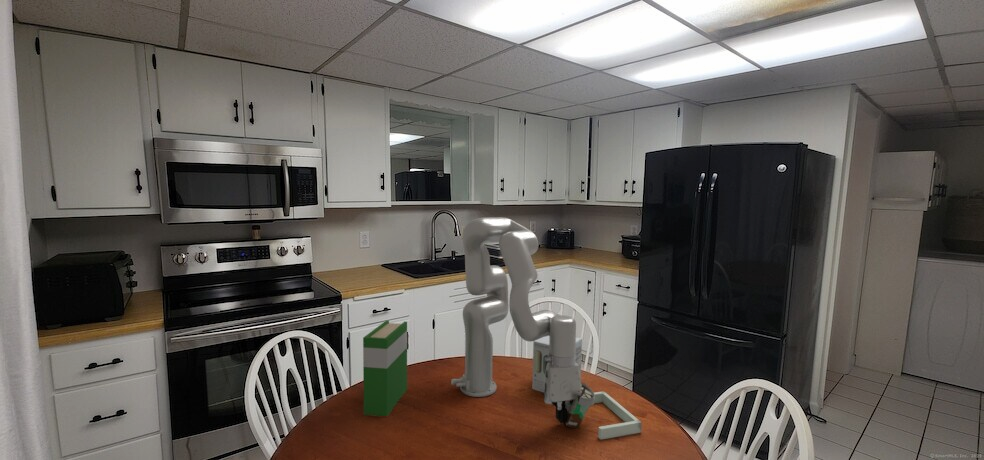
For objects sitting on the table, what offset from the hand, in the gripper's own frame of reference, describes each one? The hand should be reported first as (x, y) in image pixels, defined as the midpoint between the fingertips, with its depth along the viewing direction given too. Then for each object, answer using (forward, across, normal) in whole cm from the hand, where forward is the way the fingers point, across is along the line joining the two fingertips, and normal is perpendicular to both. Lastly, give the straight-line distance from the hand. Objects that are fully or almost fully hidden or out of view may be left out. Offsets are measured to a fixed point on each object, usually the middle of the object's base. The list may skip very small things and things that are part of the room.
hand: (561, 420), depth 116 cm
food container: (+1, +4, +1) cm, 5 cm away
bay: (+2, +14, +1) cm, 14 cm away
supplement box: (+2, +9, +23) cm, 25 cm away
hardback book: (+1, -49, +27) cm, 56 cm away
